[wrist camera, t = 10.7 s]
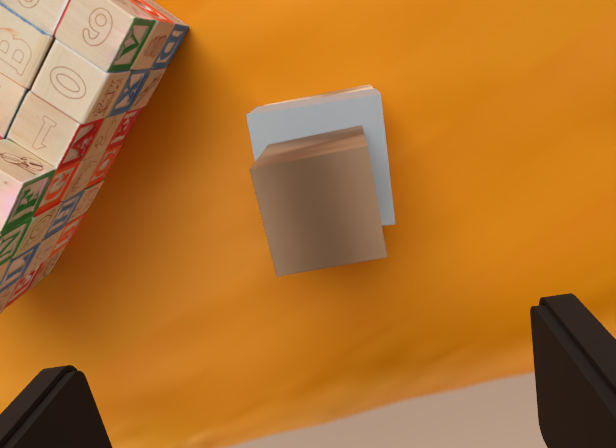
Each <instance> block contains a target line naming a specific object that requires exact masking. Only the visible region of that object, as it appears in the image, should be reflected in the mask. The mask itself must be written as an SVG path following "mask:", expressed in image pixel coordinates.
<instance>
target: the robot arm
mask: <svg viewBox="0 0 616 448" xmlns="http://www.w3.org/2000/svg"><path fill="white" fill-rule="evenodd" d="M530 315H531V328H532V341H533V354H534V367H535V379H536V392H537V405H538V418H539V425H540V430H541V433H542V436H543V439H544V441H545V443H546V445H547V447H548V448H616V339H615V338H614V337H613V336H612V335H611V334H610V333H609V332H608V331H607V330H606V329H605V327H604V326H603V325H602V324H601V323H600V322H599V321H598V320H597V319H596V318H595V317H594V316H593V315H592V313H591V312H590V311H589V310H588V309H587V308H586V307H585V306H584V305H583V304H582V303H581V302H580V301H579V299H578V298H577V297H576V296H575V295H573V294H572V293H571V294H563V295H556V296H549V297H542V298H541V299H540V301H539V306H532V307H531V310H530ZM0 448H112V446H111V443H110V440H109V438H108V435H107V433H106V430H105V427H104V425H103V422H102V419H101V417H100V414H99V411H98V409H97V406H96V403H95V401H94V398H93V395H92V393H91V390H90V387H89V385H88V382H87V379H86V377H85V375H84V373H83V372H81V371H77V369H76V368H75V367H74V366H71V365H68V366H61V367H54V368H47V369H43V370H42V371H41V372H40V373H39V374H38V375H37V376H36V377H35V378H34V379H33V380H32V381H31V382H30V383H29V384H28V385H27V386H26V388H25V389H24V390H23V391H22V392H21V393H20V394H19V395H18V396H17V397H16V398H15V399H14V400H13V401H12V403H11V404H10V405H9V406H8V407H7V408H6V409H5V410H4V411H3V412H2V413H1V414H0Z"/></svg>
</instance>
